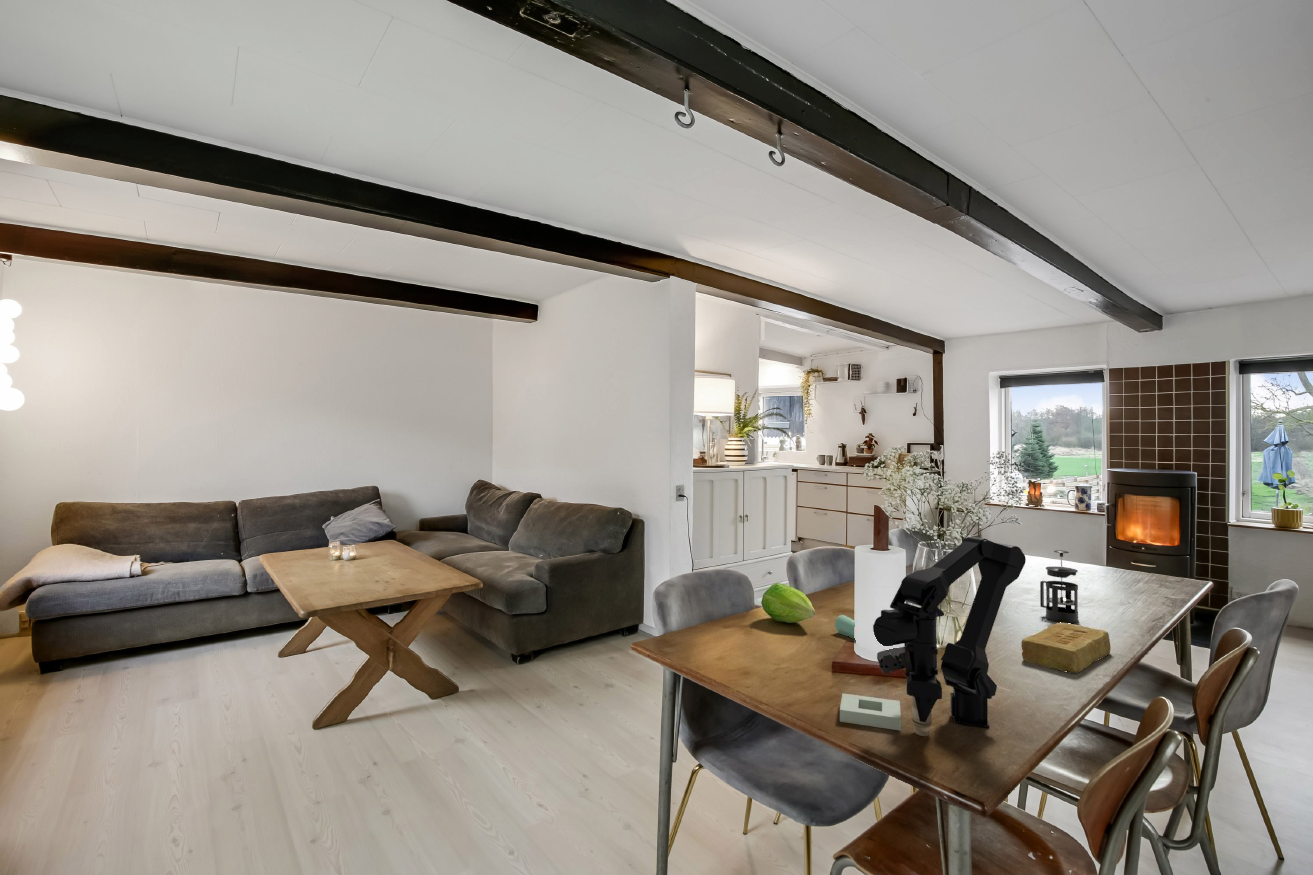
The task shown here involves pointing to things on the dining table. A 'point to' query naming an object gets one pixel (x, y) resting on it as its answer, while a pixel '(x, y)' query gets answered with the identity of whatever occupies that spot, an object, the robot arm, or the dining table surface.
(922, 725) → the peg
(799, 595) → the lettuce
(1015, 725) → the dining table surface
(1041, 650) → the brick
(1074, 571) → the french press
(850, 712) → the board
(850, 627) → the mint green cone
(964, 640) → the robot arm
